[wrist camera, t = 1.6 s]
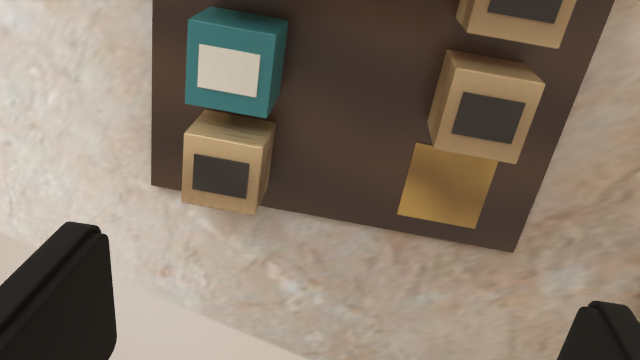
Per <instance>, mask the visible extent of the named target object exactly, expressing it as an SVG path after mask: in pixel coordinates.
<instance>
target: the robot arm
mask: <svg viewBox="0 0 640 360" xmlns="http://www.w3.org/2000/svg"><path fill="white" fill-rule="evenodd" d="M116 339H117V332H116V320H115V308H114V297H113V286H112V273H111V261H110V250H109V240H108V237H107V235H105V234H101V230H100V228H99V227H98V226H96V225H90V224H83V223H76V222H66V223H65V224H63V225H62V226H61V227H60V228H59V229H58V230H57V231H56V232H55V233H54V234H53V235H52V236H51V237H50V238H49V239H48V240H47V241H46V242H45V243H44V244H43V245H42V246H41V247H40V248H39V249H38V250H37V251H35V253H33V254H32V255H31V257H29V258H28V259H27V260H26V261H25V262H24V263H23V264H22V265H21V266H20V267H19V268H18V269H17V270H16V271H15V272H14V273H13V274H12V275H11V276H10V277H9V278H8V279H7V280H6V281H5V282H4V283H3V284H2V285H1V286H0V360H108V359H109V358H110V356H111V354H112V352H113V350H114V348H115V344H116ZM557 360H640V324H639V322H638V321H637V319H636V317H635V316H634V314H633V313H632V311H631V310H630V309H629V308H628V307H627V306H625V305H621V304H615V303H608V302H601V301H592V302H591V303H590V304H589V305H588V307H581V308H580V309H579V310H578V312H577V314H576V317H575V319H574V321H573V324H572V326H571V328H570V331H569V333H568V335H567V338H566V340H565V342H564V344H563V347H562V349H561V351H560V354H559V356H558V358H557Z"/></svg>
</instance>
